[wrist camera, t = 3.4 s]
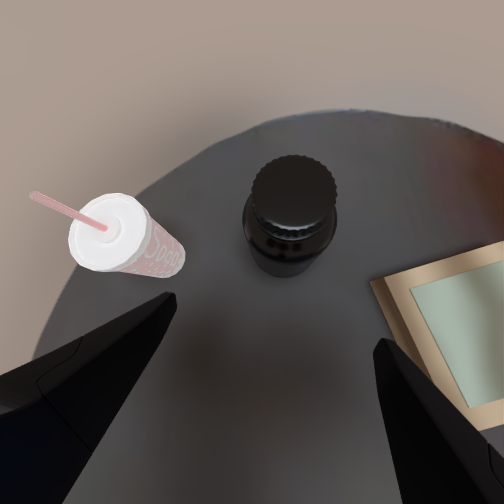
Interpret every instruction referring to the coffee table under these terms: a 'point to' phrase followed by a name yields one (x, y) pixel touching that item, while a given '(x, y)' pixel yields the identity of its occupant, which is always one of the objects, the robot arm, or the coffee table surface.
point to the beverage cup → (119, 237)
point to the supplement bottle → (290, 214)
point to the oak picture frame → (454, 327)
